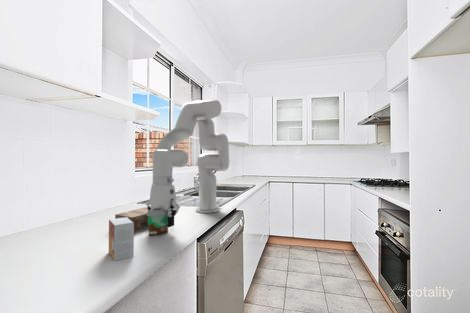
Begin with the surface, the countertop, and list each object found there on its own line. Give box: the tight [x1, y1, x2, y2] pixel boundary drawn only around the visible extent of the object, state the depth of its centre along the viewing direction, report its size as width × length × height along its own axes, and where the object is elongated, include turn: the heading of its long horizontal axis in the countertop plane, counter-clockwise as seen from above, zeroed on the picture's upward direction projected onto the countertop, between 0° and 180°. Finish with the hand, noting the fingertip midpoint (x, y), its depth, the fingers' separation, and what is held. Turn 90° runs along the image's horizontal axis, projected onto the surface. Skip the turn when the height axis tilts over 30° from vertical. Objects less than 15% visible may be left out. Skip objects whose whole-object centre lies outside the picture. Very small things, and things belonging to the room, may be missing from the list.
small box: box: [108, 217, 135, 262], centre depth 76 cm, size 8×6×10 cm
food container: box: [147, 209, 171, 237], centre depth 97 cm, size 12×6×10 cm, turn 168°
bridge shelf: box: [114, 206, 148, 233], centre depth 106 cm, size 16×10×6 cm, turn 153°
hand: (162, 224), depth 97 cm, fingers open, 8 cm apart
